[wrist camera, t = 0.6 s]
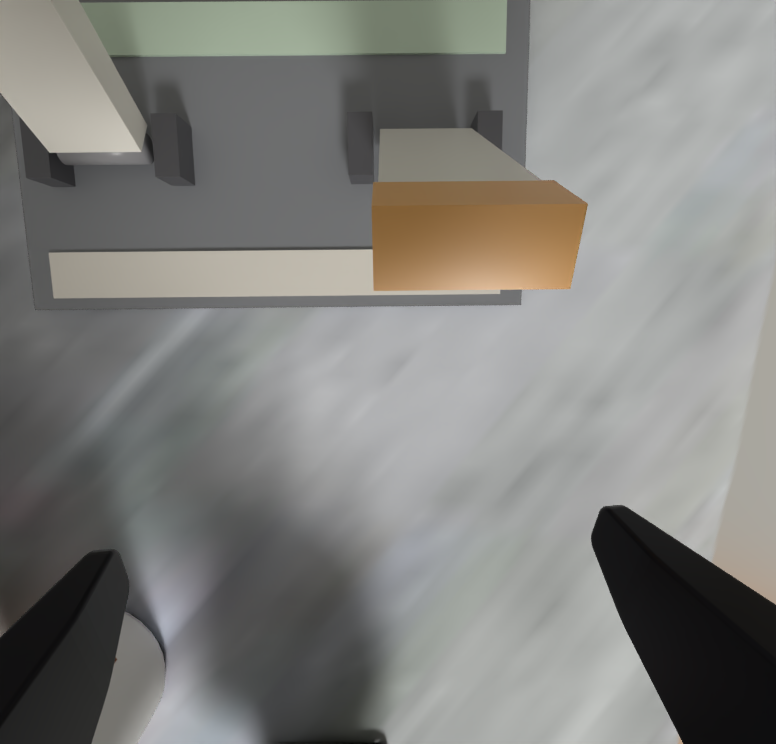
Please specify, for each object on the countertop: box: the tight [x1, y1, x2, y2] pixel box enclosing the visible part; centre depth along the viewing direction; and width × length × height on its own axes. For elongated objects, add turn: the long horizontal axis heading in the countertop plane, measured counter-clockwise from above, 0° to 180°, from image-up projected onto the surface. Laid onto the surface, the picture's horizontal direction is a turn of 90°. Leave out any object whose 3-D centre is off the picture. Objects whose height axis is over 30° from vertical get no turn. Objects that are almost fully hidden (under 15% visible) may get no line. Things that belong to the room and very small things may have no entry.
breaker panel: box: [11, 0, 530, 310], centre depth 21 cm, size 13×22×2 cm, turn 91°
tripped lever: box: [372, 128, 588, 291], centre depth 15 cm, size 2×4×14 cm, turn 90°
